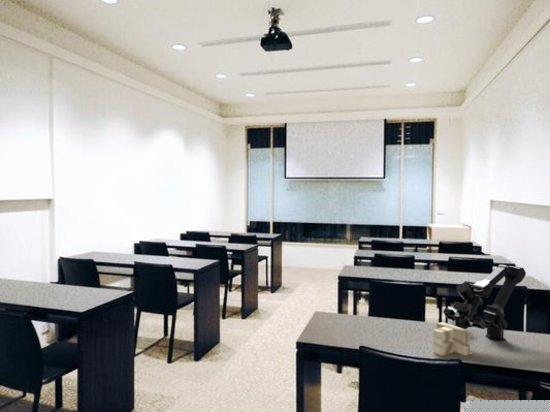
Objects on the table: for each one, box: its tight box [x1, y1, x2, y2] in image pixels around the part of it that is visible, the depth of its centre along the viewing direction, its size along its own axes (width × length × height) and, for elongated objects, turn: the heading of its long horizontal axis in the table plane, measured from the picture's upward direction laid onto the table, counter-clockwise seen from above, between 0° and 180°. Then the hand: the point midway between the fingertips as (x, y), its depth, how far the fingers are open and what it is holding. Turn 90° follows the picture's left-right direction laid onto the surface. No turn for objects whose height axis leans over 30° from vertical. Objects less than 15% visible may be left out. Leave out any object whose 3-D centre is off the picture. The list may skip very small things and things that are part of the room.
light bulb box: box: [447, 306, 459, 326], centre depth 203 cm, size 11×7×11 cm, turn 168°
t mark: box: [430, 350, 473, 357], centre depth 175 cm, size 14×16×1 cm
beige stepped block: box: [432, 321, 471, 356], centre depth 175 cm, size 13×14×10 cm
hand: (455, 333), depth 178 cm, fingers closed, pressing on beige stepped block
